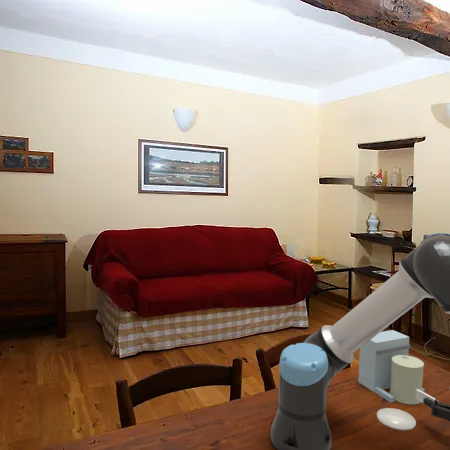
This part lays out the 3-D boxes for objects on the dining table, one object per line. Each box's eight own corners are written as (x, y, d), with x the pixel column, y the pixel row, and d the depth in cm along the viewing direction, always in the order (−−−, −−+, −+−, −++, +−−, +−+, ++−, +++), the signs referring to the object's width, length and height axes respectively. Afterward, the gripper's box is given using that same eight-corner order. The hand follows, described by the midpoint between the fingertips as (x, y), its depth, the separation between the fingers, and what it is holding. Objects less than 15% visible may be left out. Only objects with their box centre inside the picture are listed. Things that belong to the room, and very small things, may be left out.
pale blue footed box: (424, 393, 129) (427, 344, 127) (390, 402, 123) (393, 351, 122) (390, 374, 142) (392, 329, 140) (358, 382, 136) (360, 335, 134)
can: (415, 390, 131) (417, 354, 130) (426, 405, 122) (429, 367, 121) (385, 388, 132) (387, 352, 131) (394, 403, 123) (396, 365, 122)
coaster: (391, 432, 108) (391, 430, 108) (369, 412, 118) (369, 410, 118) (424, 428, 111) (424, 425, 111) (400, 408, 120) (400, 406, 120)
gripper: (474, 458, 94) (400, 410, 113) (541, 433, 104) (462, 393, 123) (476, 426, 93) (402, 384, 112) (543, 404, 103) (464, 369, 122)
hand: (433, 389), depth 118 cm, fingers open, 13 cm apart
